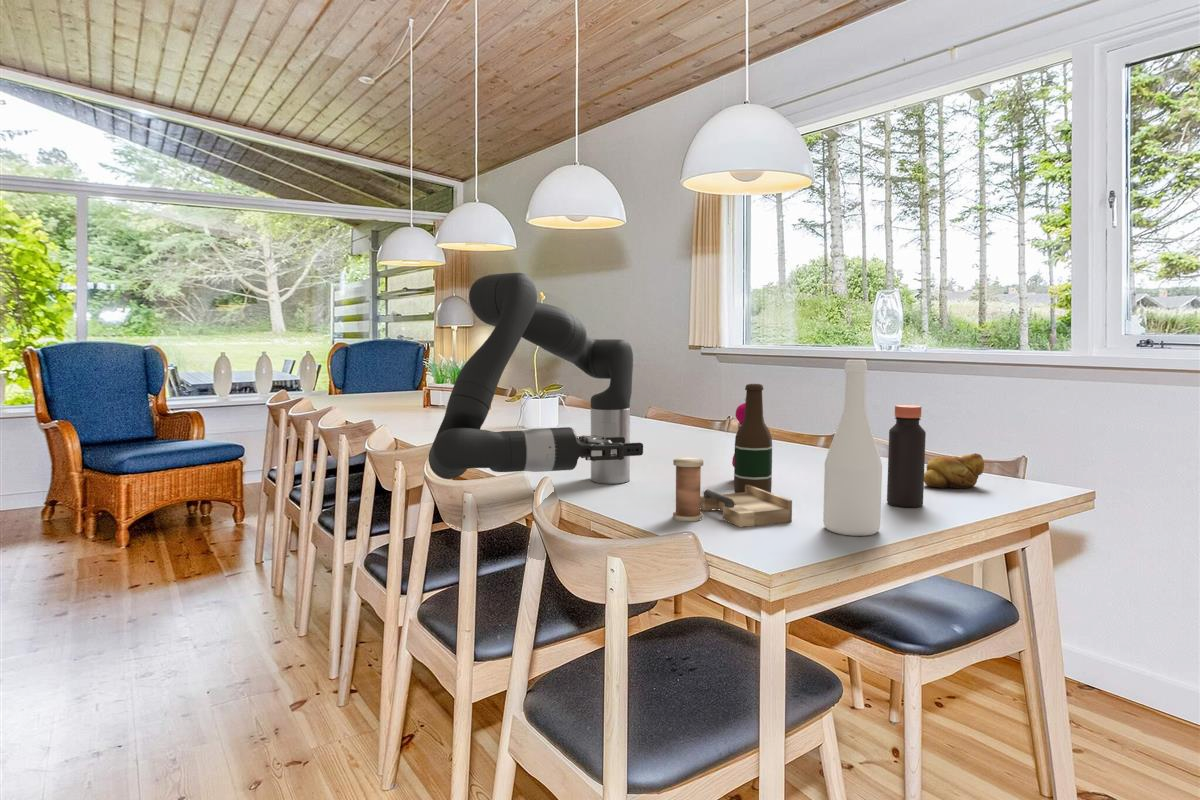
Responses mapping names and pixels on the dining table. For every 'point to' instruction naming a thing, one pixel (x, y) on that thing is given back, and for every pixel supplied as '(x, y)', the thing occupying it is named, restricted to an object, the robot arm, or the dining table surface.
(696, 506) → the bobbin
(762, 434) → the beer bottle
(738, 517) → the wooden tray with handle
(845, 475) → the wine bottle
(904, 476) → the vinegar
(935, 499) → the dining table surface
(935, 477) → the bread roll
